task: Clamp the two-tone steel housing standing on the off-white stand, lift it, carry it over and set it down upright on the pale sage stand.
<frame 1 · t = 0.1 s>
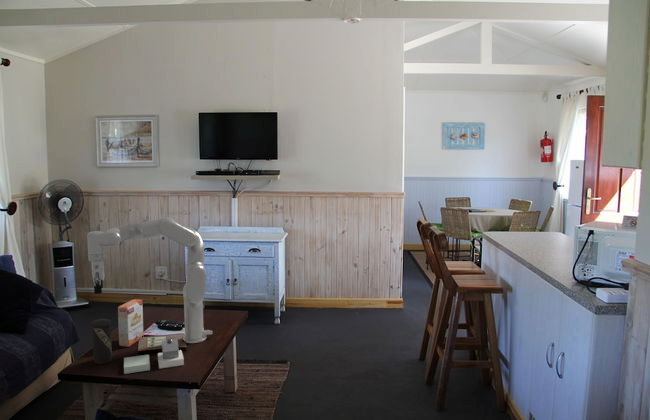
hand: (98, 290, 245), 31 cm above the table, tool pointing down, fingers open, 9 cm apart
cracker box: (132, 342, 261), on the table
housing: (170, 355, 237), point 3 cm above the table, touching stand a
stand a: (170, 362, 237), on the table
stand b: (137, 366, 232), on the table
container: (103, 361, 238), on the table
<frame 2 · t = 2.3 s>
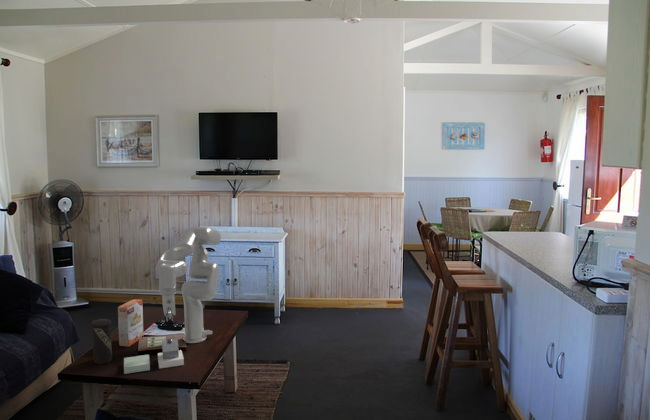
hand: (169, 325, 235), 18 cm above the table, tool pointing down, fingers open, 9 cm apart
nothing on the table moved.
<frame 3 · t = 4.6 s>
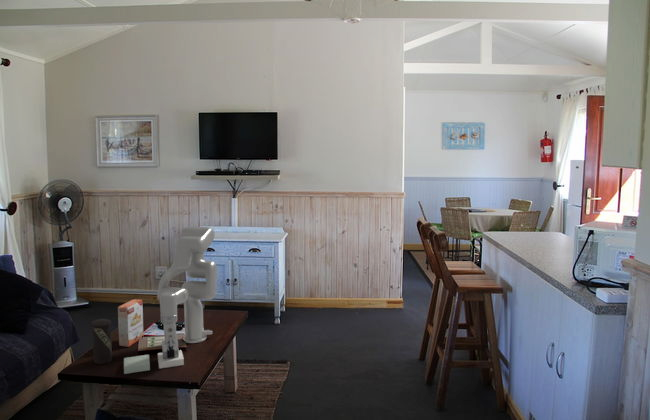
hand: (170, 354, 237), 4 cm above the table, tool pointing down, fingers closed on housing, 5 cm apart
housing: (170, 355, 237), point 3 cm above the table, touching gripper, stand a
everything else where it was.
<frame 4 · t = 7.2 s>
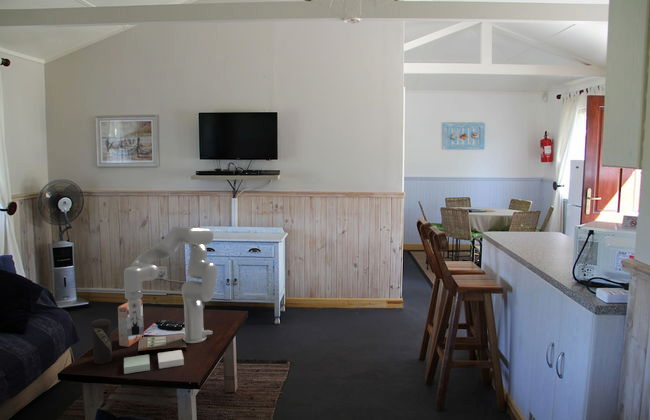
hand: (135, 331, 229), 17 cm above the table, tool pointing down, fingers closed on housing, 5 cm apart
housing: (135, 333, 230), point 16 cm above the table, touching gripper
everything else where it was.
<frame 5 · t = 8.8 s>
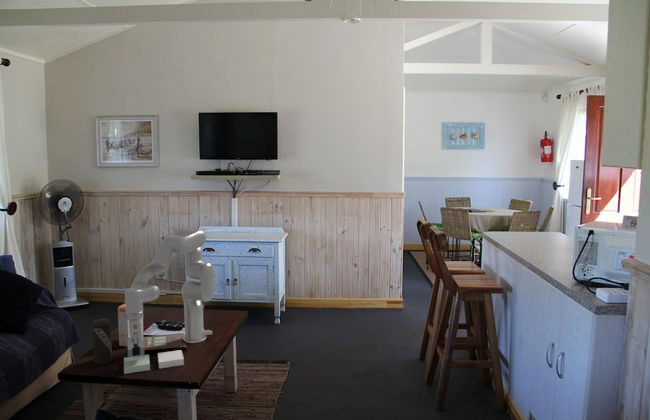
hand: (136, 352, 231), 7 cm above the table, tool pointing down, fingers closed on housing, 5 cm apart
housing: (136, 353, 231), point 6 cm above the table, touching gripper
everything else where it was.
when the fingers open (5 cm above the table, at t = 10.1 s): housing drops 1 cm, resting on stand b.
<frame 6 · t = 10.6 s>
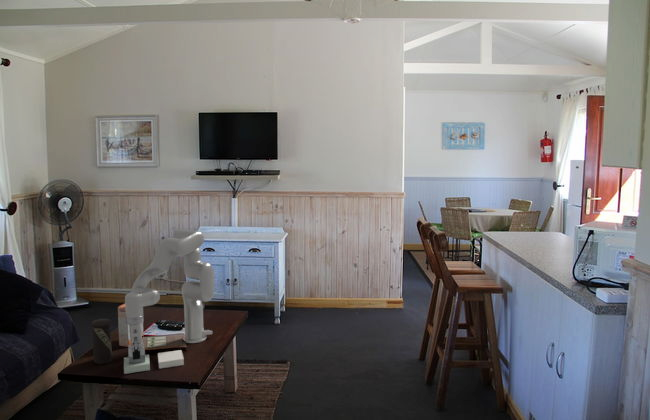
hand: (136, 354, 231), 6 cm above the table, tool pointing down, fingers open, 9 cm apart
housing: (137, 360, 231), point 3 cm above the table, touching stand b
everything else where it was.
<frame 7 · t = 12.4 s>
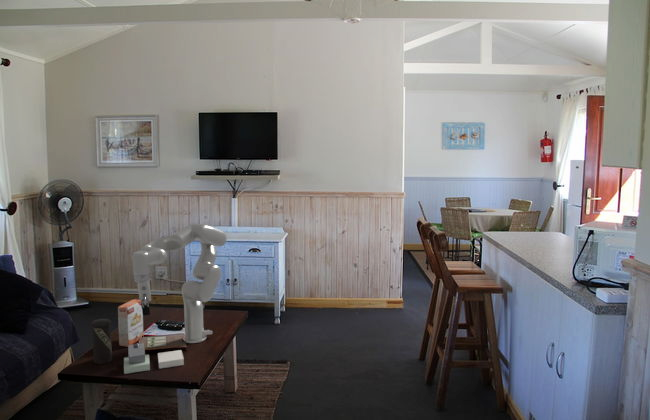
hand: (145, 311, 238), 23 cm above the table, tool pointing down, fingers open, 9 cm apart
nothing on the table moved.
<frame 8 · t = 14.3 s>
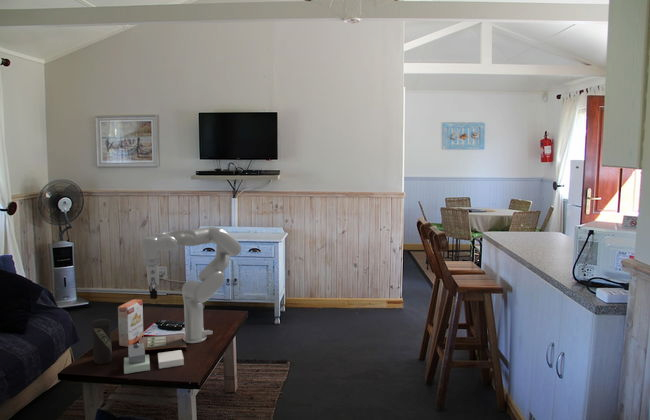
hand: (153, 295, 247), 28 cm above the table, tool pointing down, fingers open, 9 cm apart
nothing on the table moved.
at the end: housing 0.1 cm off-centre on the stand b, point 3.0 cm above the stand b's base; housing tilted 0°; the gripper is holding nothing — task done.
